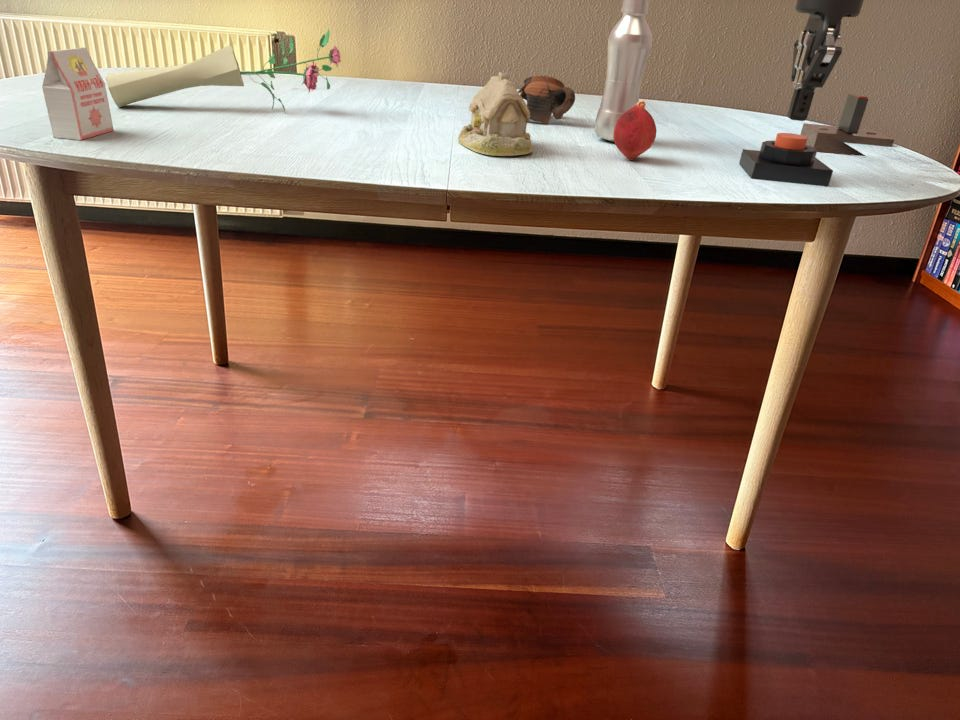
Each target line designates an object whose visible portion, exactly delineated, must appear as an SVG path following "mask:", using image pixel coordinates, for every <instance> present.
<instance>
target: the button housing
mask: <svg viewBox="0 0 960 720" xmlns="http://www.w3.org/2000/svg"><path fill="white" fill-rule="evenodd" d="M774 143H775V140H765V141H762V143H761V146H760V150H755V149H745V148H743V149H742V151H741V155H740V159H739V162H738V165H739V166H740V167H741V168H742V169H743V171H744V172H745V173H746V174H747V176H748V177H749V178H750V180H758V181H760V180H761V181H771V182H779V183H789V184H798V185H807V186H817V187H826V188H827V187H829V185H830V182H831V179H832V176H833V172H834V170H833V169H832V168H830V167H829V166H828V165H826V164H825V163H824V162H823V161H821V160H820V159H819V158H817V157H816V156H817V153H818V152H817V149H815V148H814V147H811V146H808V145H806V147H805V150H796V149H787V148H782V147H778V146H774Z"/></svg>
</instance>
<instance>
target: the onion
mask: <svg viewBox="0 0 960 720" xmlns="http://www.w3.org/2000/svg"><path fill="white" fill-rule="evenodd" d="M646 104H647V103H646V102H645V101H644V100H639V102H638V103H637V104H636V105H635V106H634V107H633V108H631V109H629V110H628V111H626V112H625V113H624V114H623V115H622V116H621V117H620V118H619V120H618V121H617V123H616V125H615V128H614V135H613V139H614V142H613V143H614V145H615V147H616V148H617V150H618V151H619V152H620V153H621V154H622V155H623V156H624V157H625V158H626V159H627V160H628V161H634V160H636V159H638V157H639V156H641V155H642V154H644V153H646V152H647V151H648V150H649V149H651V147H652V146H653V145H654V144H655V140H656V137H657V124H656V122H655V119H654V118H653V116H652V115H651V113H650V112H649V111H648V110H647V109H646V107H645V106H646Z"/></svg>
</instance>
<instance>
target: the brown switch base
mask: <svg viewBox="0 0 960 720" xmlns="http://www.w3.org/2000/svg"><path fill="white" fill-rule="evenodd" d="M838 126H839V124H838V125H828V124H827V125H826V124H814V123H805V122H804V123H803V124H802V127H801V131H800V133H799V135H803V136H806V137H808V140H807V144H806V145H808V146H811V147H814V148H815V149H817V153H829V154H839V155H850V156H860V157H866V154H864V153H862V152H860V151H859V150H857V149H855V148H854V147H852V146H850V145H849V144H857V145H866V146H877V147H887V148H888V147H889V148H892V147H893V145H894V143H895V139H894V138H892V137H890V136H888V135H885V134H883V133H881V132H880V131H877V130H875V129H868V128H859V130H858V133H857V134H853V133H847V132H845V131H843V130H841V129H839V128H838Z"/></svg>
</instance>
